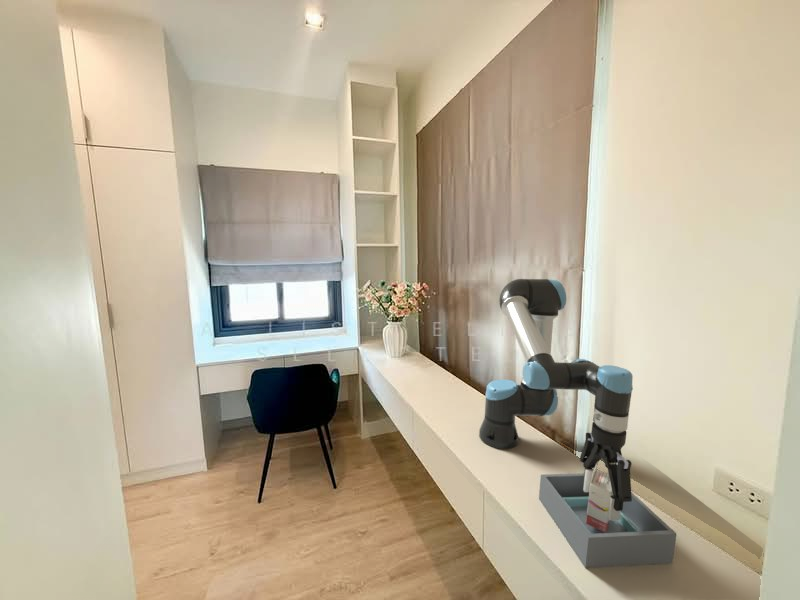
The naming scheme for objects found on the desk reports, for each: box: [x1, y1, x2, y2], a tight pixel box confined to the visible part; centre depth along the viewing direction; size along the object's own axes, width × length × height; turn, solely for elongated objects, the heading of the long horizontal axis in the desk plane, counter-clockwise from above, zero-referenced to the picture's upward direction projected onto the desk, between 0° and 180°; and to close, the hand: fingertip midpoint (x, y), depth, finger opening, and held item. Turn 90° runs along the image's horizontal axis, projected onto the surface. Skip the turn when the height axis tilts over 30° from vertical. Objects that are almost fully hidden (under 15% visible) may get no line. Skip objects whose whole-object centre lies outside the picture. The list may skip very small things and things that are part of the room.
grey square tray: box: [538, 472, 677, 569], centre depth 87 cm, size 22×22×8 cm
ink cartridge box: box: [586, 461, 613, 533], centre depth 86 cm, size 9×5×15 cm, turn 141°
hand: (600, 504), depth 87 cm, fingers closed on ink cartridge box, 9 cm apart
